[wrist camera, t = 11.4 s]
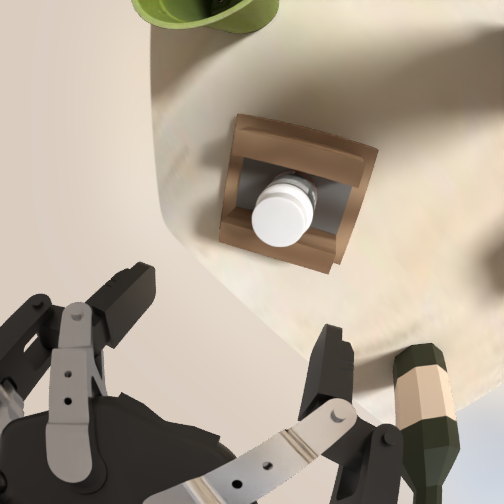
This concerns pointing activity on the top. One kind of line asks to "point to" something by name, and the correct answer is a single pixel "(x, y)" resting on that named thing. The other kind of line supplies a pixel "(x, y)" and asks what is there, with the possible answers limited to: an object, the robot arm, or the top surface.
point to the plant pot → (208, 14)
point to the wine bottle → (425, 420)
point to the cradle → (308, 162)
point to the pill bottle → (285, 209)
